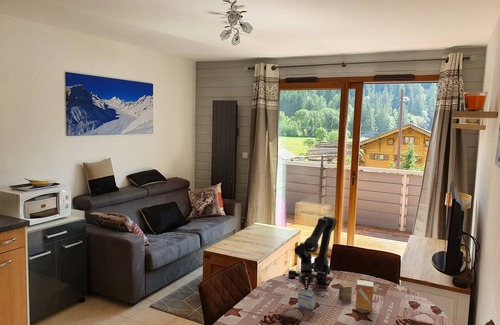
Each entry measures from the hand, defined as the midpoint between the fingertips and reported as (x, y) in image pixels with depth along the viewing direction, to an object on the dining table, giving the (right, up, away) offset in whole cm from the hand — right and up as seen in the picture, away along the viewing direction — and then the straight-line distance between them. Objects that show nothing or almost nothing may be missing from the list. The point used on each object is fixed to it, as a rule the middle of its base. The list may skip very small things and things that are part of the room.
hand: (306, 291), depth 198 cm
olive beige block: (+23, -7, +12) cm, 27 cm away
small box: (+30, -9, +1) cm, 31 cm away
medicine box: (0, -7, 0) cm, 8 cm away
